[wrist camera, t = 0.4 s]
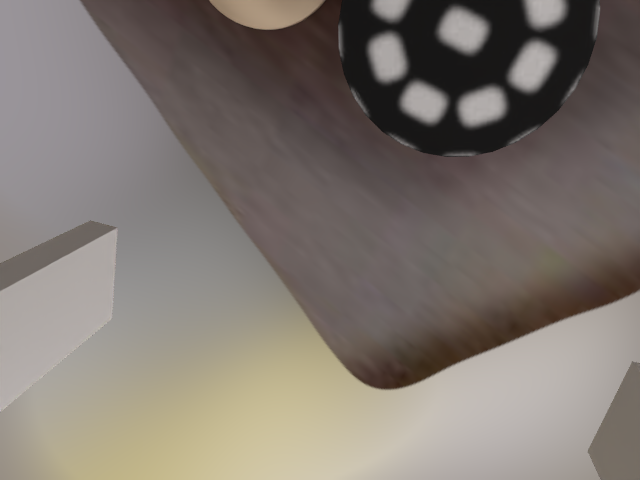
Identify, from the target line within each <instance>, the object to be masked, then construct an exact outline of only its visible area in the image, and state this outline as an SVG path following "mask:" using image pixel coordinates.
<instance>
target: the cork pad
mask: <svg viewBox="0 0 640 480" xmlns="http://www.w3.org/2000/svg"><path fill="white" fill-rule="evenodd" d="M209 1H210V2H211V3H212V4H213V5H214V6H215V7H216V8H217V9H218V10H219V11H220V12H221V13H222V14H224V15H225V16H226V17H228V18H230V19H231V20H233V21H235V22H237V23H239V24H242V25H244V26H247V27H251V28H255V29H262V30H277V29H282V28H287V27H290V26H292V25H295V24H297V23H299V22H301V21H303V20H305V19H306V18H308V17H309V16H310V15H312V14H313V13H314V12H315V11H316V10H317V9H319V8H320V7H321V5H322V4H323V3H324V2H325V1H326V0H209Z"/></svg>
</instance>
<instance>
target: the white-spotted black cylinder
mask: <svg viewBox="0 0 640 480" xmlns="http://www.w3.org/2000/svg"><path fill="white" fill-rule="evenodd" d="M599 15H600V1H599V0H342V5H341V11H340V18H339V24H338V29H339V52H340V57H341V62H342V67H343V71H344V75H345V78H346V80H347V82H348V85H349V87H350V90H351V92H352V94H353V97H354V98H355V100H356V101H357V103H358V104H359V105H360V107H361V108H362V110H363V111H364V113H365V114H366V116H367V117H368V118H369V119H370V120H371V121H372V122H373V123H374V124H375V125H376V126H377V127H378V128H379V129H380V130H381V131H382V132H384V133H385V134H387V135H388V136H390V137H391V138H393V139H394V140H396V141H398V142H399V143H401V144H403V145H405V146H408V147H410V148H413V149H415V150H418V151H420V152H423V153H428V154H433V155H439V156H444V157H461V156H473V155H478V154H483V153H488V152H493V151H496V150H498V149H501V148H503V147H506V146H508V145H511V144H513V143H516V142H517V141H519V140H521V139H522V138H524V137H525V136H527V135H529V134H530V133H532V132H533V131H535V130H537V129H538V128H539V127H540V126H542V125H543V124H544V123H545V122H546V121H547V120H548V119H549V118H550V117H552V116H553V115H554V114H555V113H556V112H557V111H558V110H559V109H560V108H561V106H562V105H563V104H564V102H565V101H566V100H567V99H568V97H569V96H570V95H571V94H572V92H573V91H574V90H575V88H576V86H577V84H578V83H579V81H580V79H581V77H582V75H583V73H584V71H585V69H586V68H587V66H588V63H589V60H590V57H591V54H592V51H593V48H594V45H595V41H596V38H597V31H598V23H599Z"/></svg>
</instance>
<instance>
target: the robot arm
mask: <svg viewBox="0 0 640 480" xmlns="http://www.w3.org/2000/svg"><path fill="white" fill-rule="evenodd" d="M116 244H117V227H113V226H109V225H105V224H101V223H98V222H94V221H89V222H86V223H84V224H82V225H80V226H78V227H76V228H74V229H72V230H70V231H68V232H65V233H63V234H61V235H59V236H57V237H55V238H53V239H51V240H49V241H47V242H45V243H42V244H40V245H38V246H36V247H34V248H32V249H30V250H28V251H26V252H23V253H21V254H19V255H17V256H15V257H13V258H11V259H9V260H6V261H4V262H3V263H0V412H1V411H2V410H3V409H4V408H6V407H7V406H8V405H9V404H10V403H12V402H13V401H14V400H15V399H16V398H18V397H19V396H20V395H21V394H22V393H24V392H25V391H26V390H27V389H28V388H29V387H31V386H32V385H33V384H34V383H35V382H37V381H38V380H39V379H40V378H42V377H43V376H44V375H45V374H46V373H48V372H49V371H50V370H51V369H52V368H54V367H55V366H56V365H57V364H58V363H59V362H61V361H62V360H63V359H64V358H65V357H67V356H68V355H69V354H70V353H71V352H73V351H74V350H75V349H76V348H77V347H78V346H80V345H81V344H82V343H83V342H85V341H86V340H87V339H88V338H89V337H91V336H92V335H93V334H94V333H95V332H96V331H98V330H99V329H100V328H101V327H102V326H104V325H105V324H106V323H107V322H109V321H110V320H111V319H112V311H113V294H114V277H115V261H116ZM588 453H589V455H590V457H591V459H592V462H593V464H594V466H595V468H596V470H597V472H598V475H599V477H600V479H601V480H640V363H637V362H632V363H631V366H630V367H629V369H628V371H627V373H626V375H625V377H624V379H623V381H622V383H621V385H620V387H619V389H618V391H617V393H616V395H615V397H614V399H613V401H612V403H611V406H610V407H609V409H608V411H607V413H606V416H605V418H604V419H603V421H602V423H601V426H600V427H599V429H598V431H597V434H596V436H595V437H594V439H593V441H592V443H591V446H590V448H589V449H588Z"/></svg>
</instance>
